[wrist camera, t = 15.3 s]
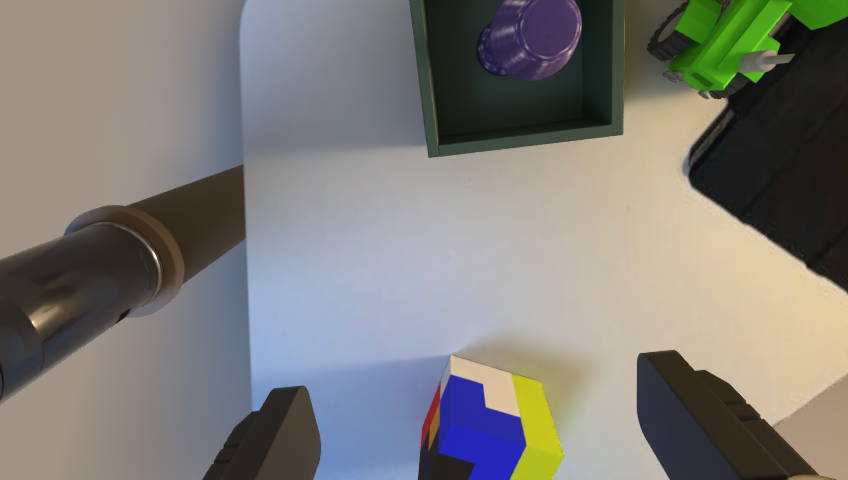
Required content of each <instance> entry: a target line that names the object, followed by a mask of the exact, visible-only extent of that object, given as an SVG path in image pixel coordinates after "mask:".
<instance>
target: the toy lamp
mask: <svg viewBox="0 0 848 480" xmlns="http://www.w3.org/2000/svg"><path fill="white" fill-rule="evenodd" d="M581 27H582V21H581V15H580V11H579V9H578V6H577V5H576V3H575V2H574V1H573V0H504V1H503V3H502V4H501V5H500V6H499V8H498V10H497V11H496V13H495V15H494V18H493V21H492V23H490V24H489V25H487V26H486V27H485V28H484V30H483V31H482V32H481V34H480V36H479V39H478V42H477V50H476V51H477V57H478V60H479V63H480V64H481V66H482V67H483V68H484V69H485V70H486V71H487V72H489V73H490V74H492V75H495V76H507V75H511V76H512V77H514V78H517V79H521V80H527V81H533V80H540V79H544V78H546V77H548V76H550V75H552V74H554V73H556V72H557V71H559V70H560V69H561V68H562V67H563V66H564V65H565V64H566V63H567V62H568V60H569V59H570V57H571V56H572V54H573V52H574V50H575V48H576V46H577V43H578V40H579V38H580V34H581Z"/></svg>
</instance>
